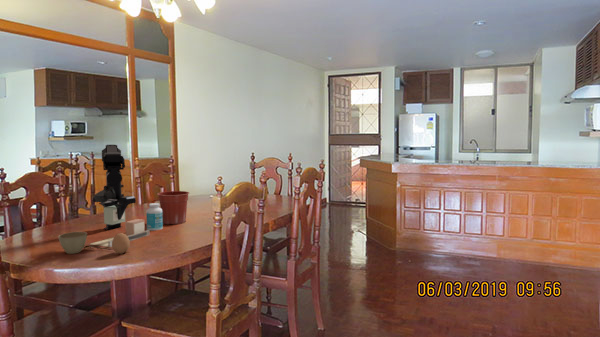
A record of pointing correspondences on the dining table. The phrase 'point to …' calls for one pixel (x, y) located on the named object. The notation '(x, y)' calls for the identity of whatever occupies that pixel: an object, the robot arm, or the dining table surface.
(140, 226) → the carton
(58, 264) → the dining table surface
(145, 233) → the shelf
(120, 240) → the egg
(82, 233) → the bowl
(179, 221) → the flower pot
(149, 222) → the pill bottle
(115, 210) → the pale green block
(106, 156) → the robot arm
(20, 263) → the dining table surface
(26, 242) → the dining table surface
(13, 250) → the dining table surface
